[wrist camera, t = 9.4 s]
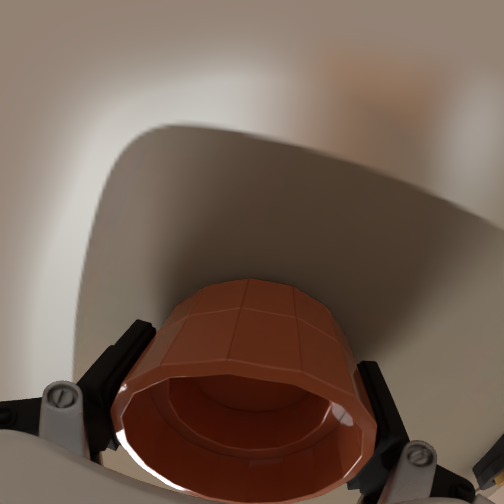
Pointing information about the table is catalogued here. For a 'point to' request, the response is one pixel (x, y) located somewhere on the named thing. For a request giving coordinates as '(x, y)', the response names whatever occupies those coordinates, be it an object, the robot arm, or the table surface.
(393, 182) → the table surface
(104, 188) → the table surface
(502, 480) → the button
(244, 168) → the table surface
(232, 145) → the table surface
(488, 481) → the scale
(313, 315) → the flower pot
